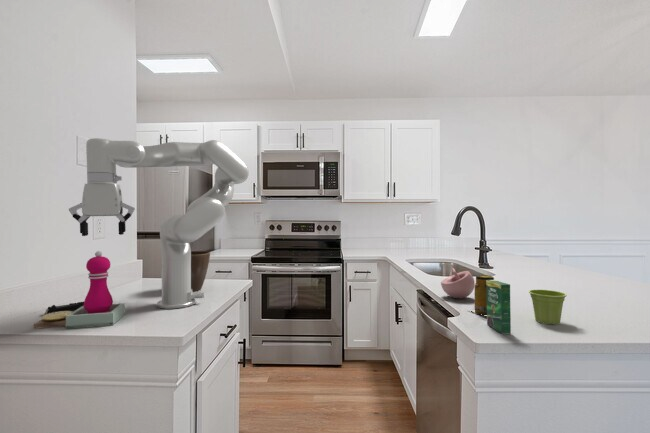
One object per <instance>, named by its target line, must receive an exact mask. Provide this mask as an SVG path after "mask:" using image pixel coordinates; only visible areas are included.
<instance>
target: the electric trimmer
mask: <svg viewBox="0 0 650 433" xmlns="http://www.w3.org/2000/svg"><path fill="white" fill-rule="evenodd" d="M82 306H84V301H78V302H72V303H71V302H70V303H69V304H63V305H55V304H53V305H52V306H48V307H47V309H46V310H45V311H44V315H45V314H49V313H53V312H59V311H72V312H74V311H75V310H77V309H79V308H80V307H82Z"/></svg>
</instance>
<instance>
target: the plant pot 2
mask: <svg viewBox="0 0 650 433" xmlns="http://www.w3.org/2000/svg"><path fill="white" fill-rule="evenodd" d="M528 293H529V294H530V298H531V301H532V306H533V307H532V308H533V311H534V312H533V313H534V318H535V321H537V322H538V323H541V324H545V325H552V324H553V325H559V324H561V320H562V319H561V318H562V313H563V306H564V301H565V300H566V299H565V298H566V297H567V293H564V292H561V291H559V290H558V291H557V290H553V289H552V290H548V289H530V290H528Z"/></svg>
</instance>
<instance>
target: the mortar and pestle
mask: <svg viewBox="0 0 650 433" xmlns="http://www.w3.org/2000/svg"><path fill="white" fill-rule="evenodd" d="M451 272H452V275H450V276H447V277H445V278H444V279H443V280H441V282H440V285H441V288H442V290H443V291H444V293H445V294H446V295H447V296H449V297H451V298H454V299H457V298H461V299H465V298H467V297H469V296H470V295H471V294H472V293H473V291H474V290H475V289H474V288H475V284H476V281H475V278H474V276H473V275H472V273H471V272H470V271H468V270H463V271H460V272H457V271H456V269H455V268H454V267H452V268H451Z"/></svg>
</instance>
